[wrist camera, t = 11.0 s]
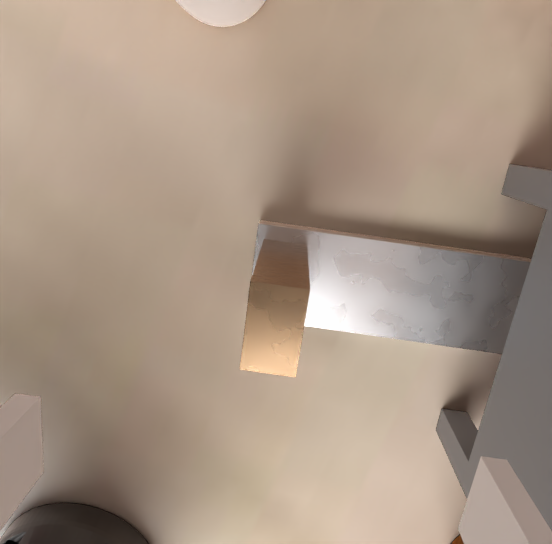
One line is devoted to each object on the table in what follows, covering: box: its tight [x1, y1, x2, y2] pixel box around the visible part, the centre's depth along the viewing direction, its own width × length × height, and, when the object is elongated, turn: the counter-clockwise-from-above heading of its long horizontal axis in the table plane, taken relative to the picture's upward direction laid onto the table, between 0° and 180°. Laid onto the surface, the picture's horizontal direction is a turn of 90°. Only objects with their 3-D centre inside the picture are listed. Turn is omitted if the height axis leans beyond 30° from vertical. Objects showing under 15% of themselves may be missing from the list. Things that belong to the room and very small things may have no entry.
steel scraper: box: [240, 220, 531, 377], centre depth 28 cm, size 19×7×10 cm, turn 82°
